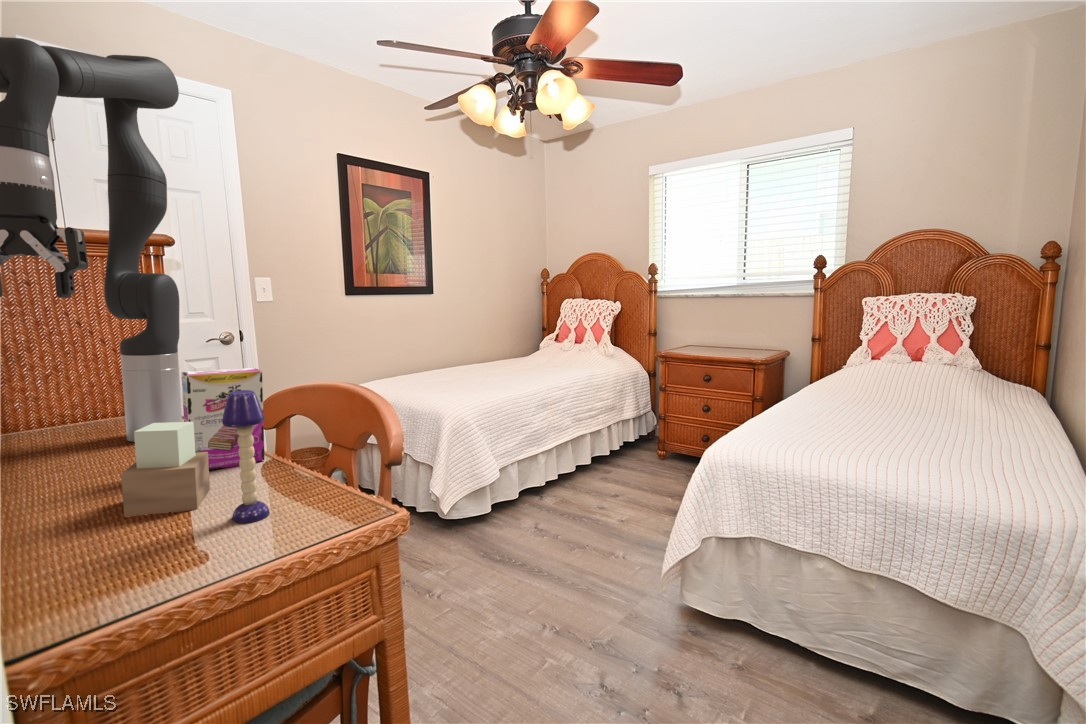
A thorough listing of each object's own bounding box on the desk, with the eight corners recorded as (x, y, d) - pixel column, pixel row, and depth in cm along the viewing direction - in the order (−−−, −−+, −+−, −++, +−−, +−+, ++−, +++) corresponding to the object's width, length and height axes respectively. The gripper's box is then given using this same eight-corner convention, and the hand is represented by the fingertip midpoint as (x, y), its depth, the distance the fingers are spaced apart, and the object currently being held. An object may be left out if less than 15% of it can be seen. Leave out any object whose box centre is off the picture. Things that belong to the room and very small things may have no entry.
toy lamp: (262, 523, 65) (256, 394, 63) (221, 526, 64) (214, 394, 62) (273, 509, 70) (268, 388, 68) (235, 511, 69) (229, 388, 67)
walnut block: (144, 497, 74) (142, 456, 73) (210, 490, 77) (208, 451, 76) (124, 519, 66) (121, 474, 66) (197, 510, 69) (195, 467, 69)
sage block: (155, 457, 73) (153, 423, 72) (195, 455, 74) (193, 421, 73) (136, 468, 68) (134, 431, 67) (179, 466, 69) (177, 430, 68)
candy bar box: (191, 475, 83) (185, 374, 81) (185, 468, 86) (179, 371, 84) (267, 461, 90) (263, 369, 89) (258, 455, 94) (254, 366, 92)
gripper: (92, 194, 80) (100, 298, 82) (-22, 187, 76) (-11, 296, 78) (61, 183, 73) (71, 298, 74) (-66, 175, 69) (-53, 296, 71)
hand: (29, 297), depth 76 cm, fingers open, 8 cm apart
